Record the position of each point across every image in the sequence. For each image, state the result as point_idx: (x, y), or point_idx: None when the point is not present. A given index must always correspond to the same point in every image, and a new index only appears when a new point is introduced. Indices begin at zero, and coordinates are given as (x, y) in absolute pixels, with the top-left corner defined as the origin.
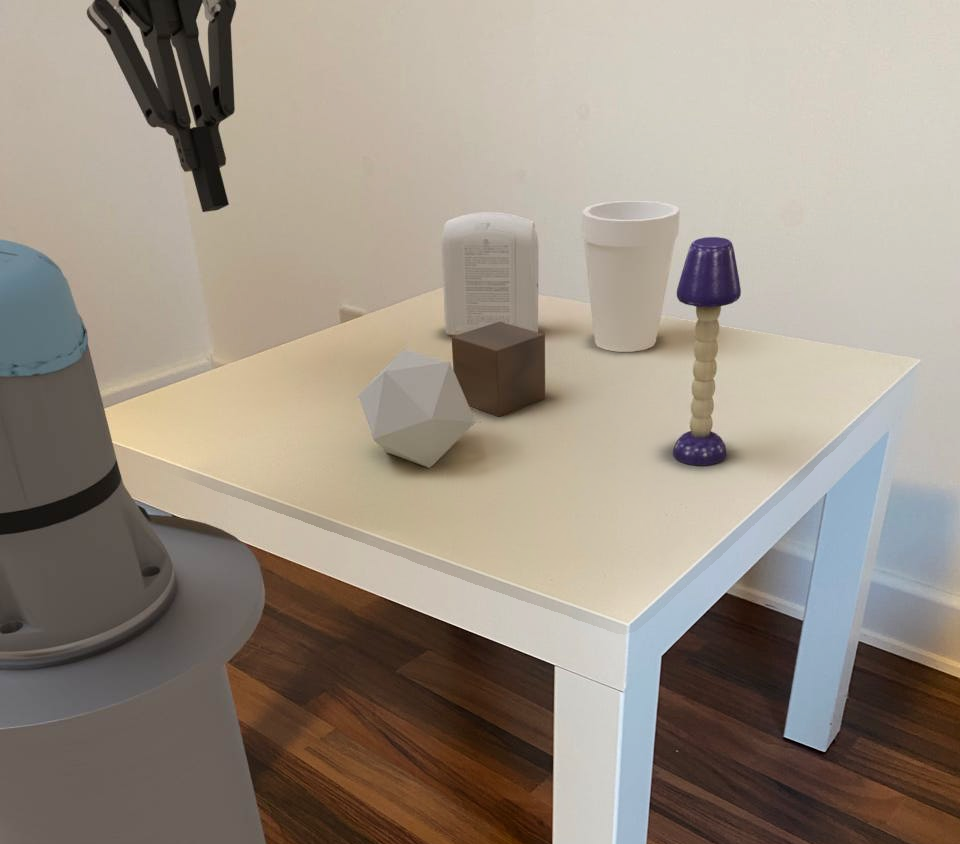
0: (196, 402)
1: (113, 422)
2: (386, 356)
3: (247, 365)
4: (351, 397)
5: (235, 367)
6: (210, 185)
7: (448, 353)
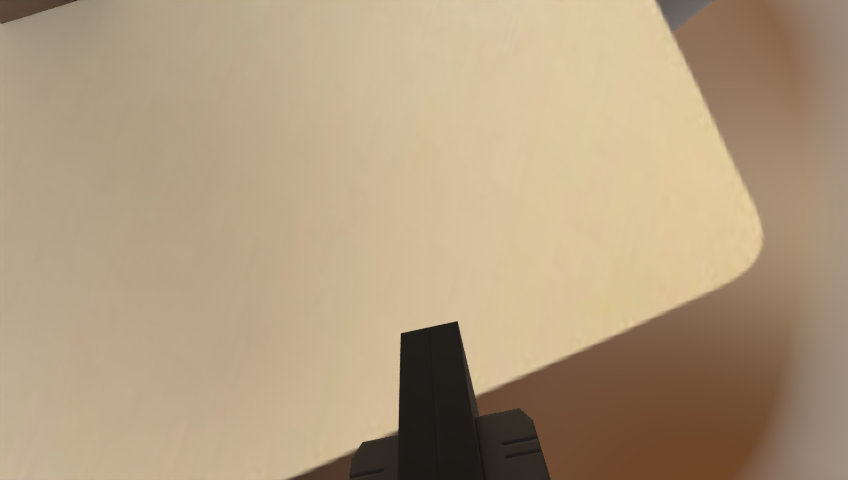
0: (546, 248)
1: (706, 229)
2: (138, 297)
3: None
4: (279, 112)
5: None
6: (454, 354)
7: (20, 244)
